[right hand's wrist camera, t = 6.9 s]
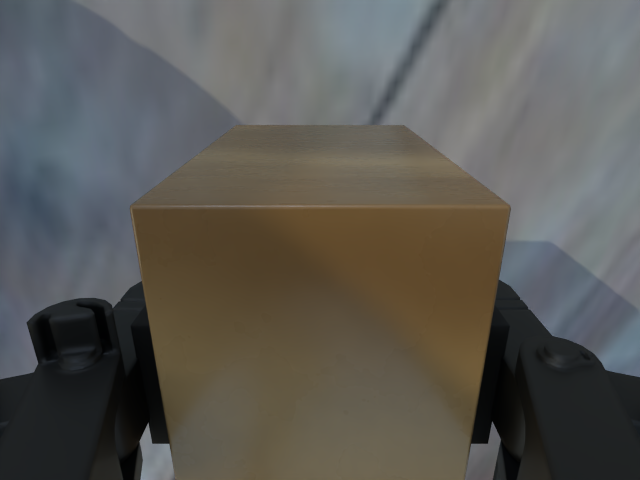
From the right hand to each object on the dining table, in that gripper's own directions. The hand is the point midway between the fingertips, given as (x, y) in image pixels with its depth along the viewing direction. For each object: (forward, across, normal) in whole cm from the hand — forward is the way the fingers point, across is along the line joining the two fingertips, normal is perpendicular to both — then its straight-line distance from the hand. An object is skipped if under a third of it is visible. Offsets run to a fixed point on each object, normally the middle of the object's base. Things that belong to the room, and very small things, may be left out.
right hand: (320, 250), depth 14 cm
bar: (+1, 0, -8) cm, 8 cm away
